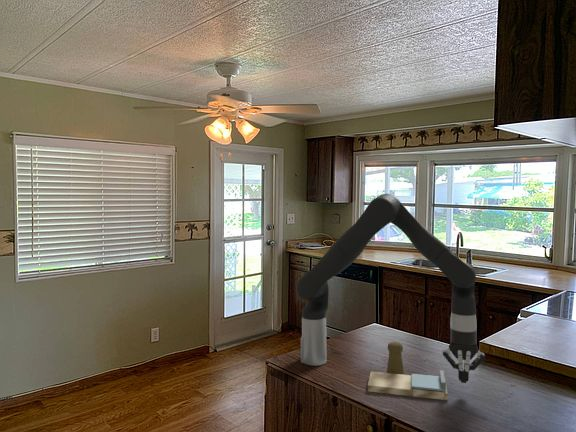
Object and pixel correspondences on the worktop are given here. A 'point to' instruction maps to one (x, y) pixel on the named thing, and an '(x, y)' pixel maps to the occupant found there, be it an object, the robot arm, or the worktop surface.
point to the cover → (429, 382)
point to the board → (400, 386)
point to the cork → (395, 358)
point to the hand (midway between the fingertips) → (463, 381)
